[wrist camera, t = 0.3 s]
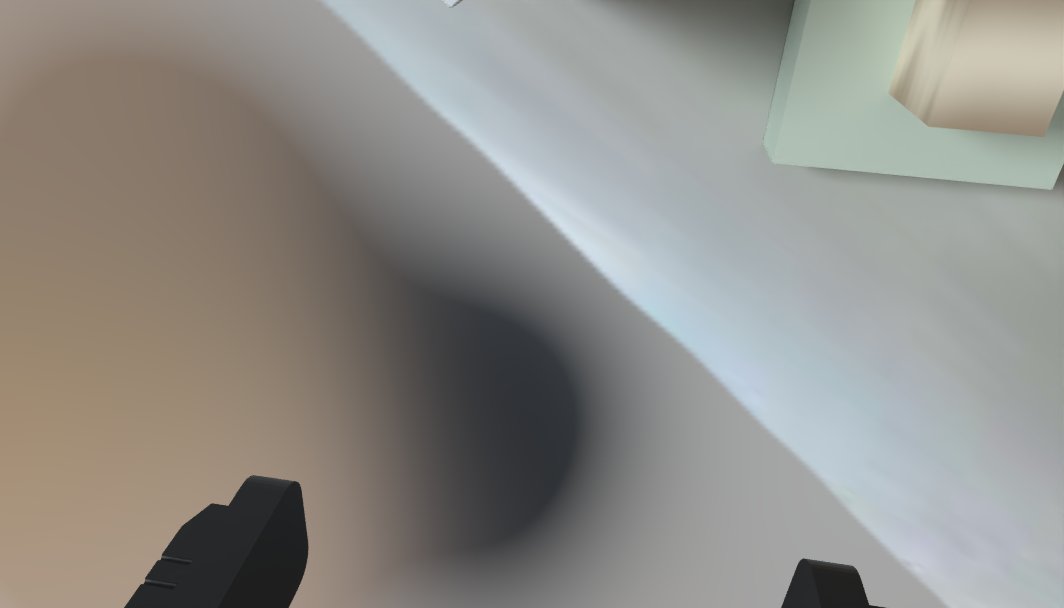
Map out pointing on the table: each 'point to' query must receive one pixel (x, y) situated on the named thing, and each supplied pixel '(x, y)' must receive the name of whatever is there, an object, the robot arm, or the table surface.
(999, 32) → the birch block
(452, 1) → the skincare box
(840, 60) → the tunnel deck
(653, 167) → the table surface
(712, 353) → the table surface
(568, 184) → the table surface
